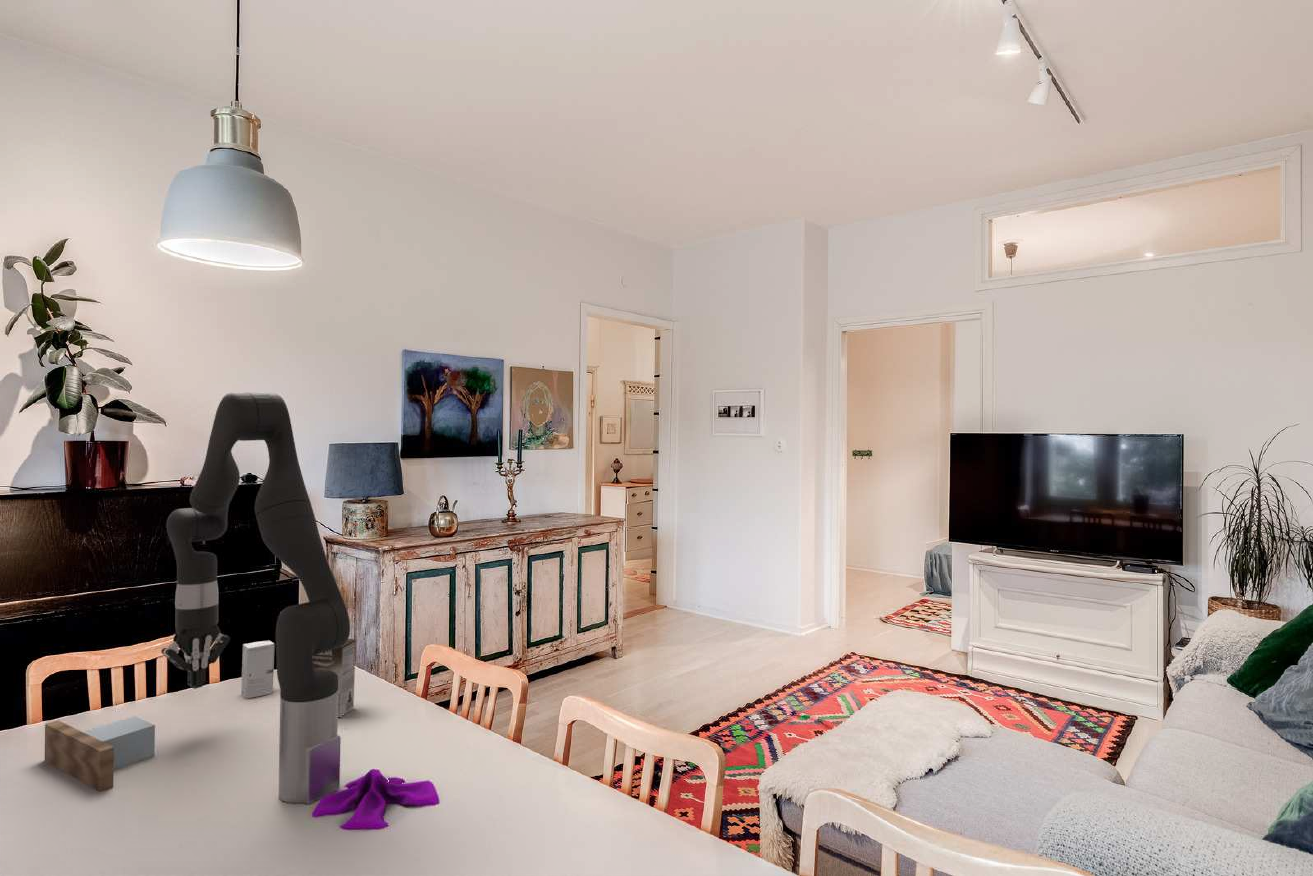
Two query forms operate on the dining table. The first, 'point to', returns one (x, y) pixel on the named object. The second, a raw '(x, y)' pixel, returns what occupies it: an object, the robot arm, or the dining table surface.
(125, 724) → the block
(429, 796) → the cloth
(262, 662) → the skincare box
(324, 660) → the coffee box
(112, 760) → the plank
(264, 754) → the dining table surface
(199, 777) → the dining table surface
